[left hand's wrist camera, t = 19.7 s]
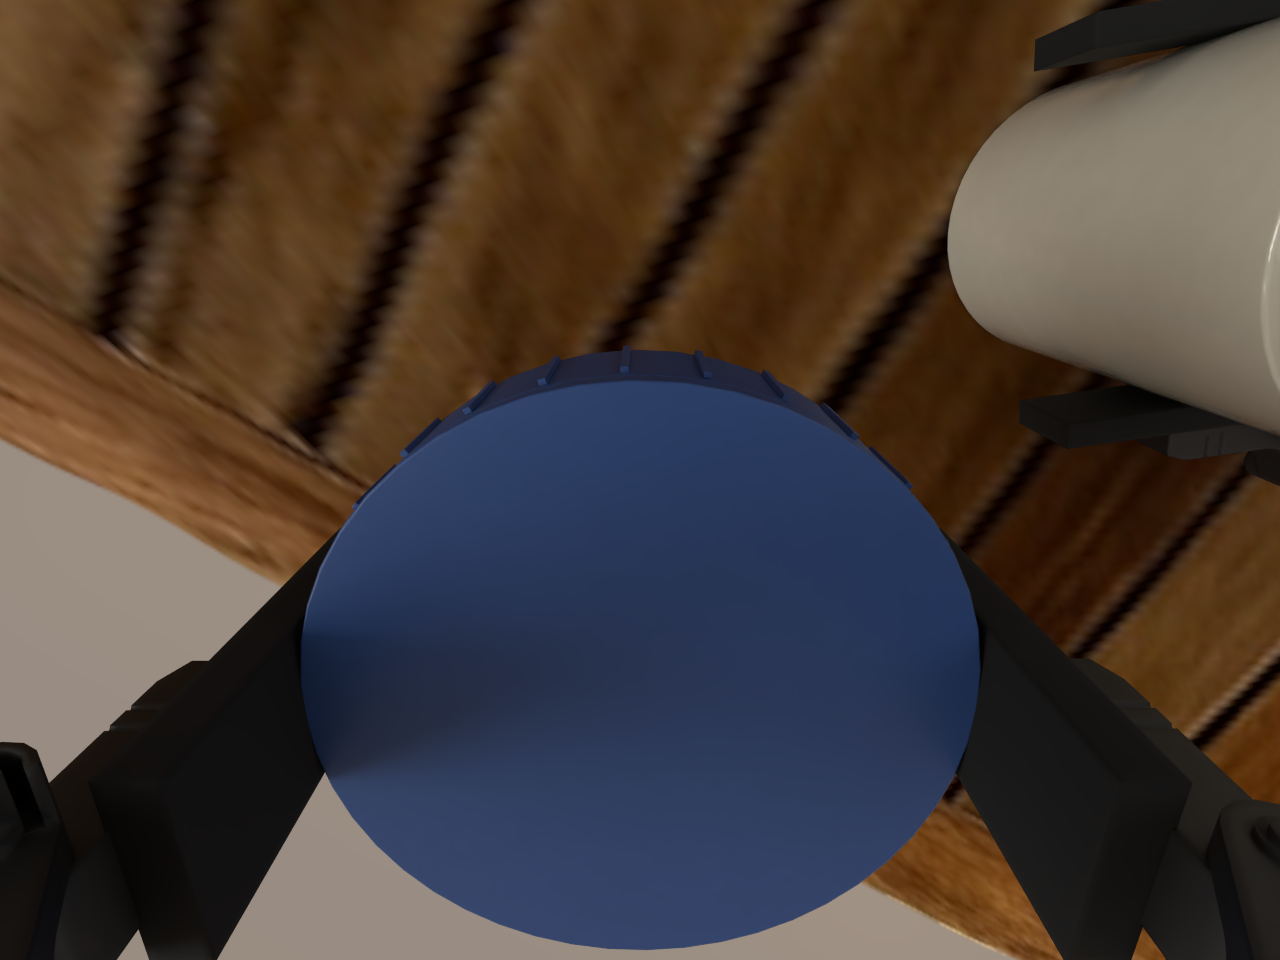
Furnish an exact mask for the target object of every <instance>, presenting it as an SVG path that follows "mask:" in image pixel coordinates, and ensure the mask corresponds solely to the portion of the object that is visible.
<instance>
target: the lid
mask: <svg viewBox="0 0 1280 960" xmlns="http://www.w3.org/2000/svg"><path fill="white" fill-rule="evenodd" d="M858 437H859V435H858V434H857V433H856V432H855V431H854V430H853V429H852V428H851V427H850V426H849V425H848V424H847V423H846V422H845V421H843V420H842V419H841V418H840V417H839V416H838V415H837V414H836V413H835V412H834V411H833V410H832V409H831V408H830V407H829V406H828V405H826V404H825V403H823V404H822V405H821V406H818V405H817V404H815V403H814V402H812V401H811V400H809V399H808V398H806V397H805V396H803V395H802V394H800V393H799V392H797V391H796V390H794V389H792V388H790V387H788V386H786V385H784V384H782V383H780V382H778V381H777V380H776V379H775V378H774V377H773V376H772V375H771V373H770V372H768V371H766V370H763V372H762V374H761V373H759V372H756V371H753V370H750V369H747V368H744V367H741V366H737V365H734V364H731V363H728V362H725V361H722V360H719V359H714V358H708V357H704V355H703V353H702V351H698V350H695V354H694V355H691V354H686V353H680V352H670V351H647V350H631V349H630V346H623V351H615V352H603V353H592V354H587V355H582V356H578V357H573V358H569V359H564V360H560V357H559V356H556V357H553V358H552V359H551V361H550V362H549V363H548V364H545V365H542V366H540V367H537V368H534V369H532V370H529V371H526V372H523V373H521V374H518V375H515V376H513V377H510V378H508V379H506V380H505V381H503V382H501V383H499V384H497V385H496V383H495V382H494V381H491V382H489V383H488V384H487V385H486V386H485V387H484V388H483V389H482V390H481V391H480V392H479V393H478V394H477V395H476V396H475V397H473V398H472V399H471V400H469V401H468V402H467V403H465V404H464V405H462V406H461V407H460V408H458V409H457V410H456V411H454V412H453V413H451V414H450V415H449V416H447V417H446V418H445V419H443V420H442V421H441V420H440V419H439V418H437V419H435V420H434V421H433V422H432V423H431V424H430V425H429V426H428V427H427V428H426V429H425V430H424V431H423V432H422V433H420V434H419V435H418V436H417V437H416V438H415V439H414V440H413V441H412V442H411V443H410V444H409V445H408V446H407V447H406V448H405V449H404V450H402V451H401V452H400V455H401V456H402V457H403V459H402V460H401V461H400V462H399V463H398V464H397V465H394V466H393V467H392V468H391V469H389V470H388V471H387V472H386V473H385V474H384V475H383V476H382V477H381V478H380V479H379V480H378V481H377V482H376V483H375V484H374V485H373V486H372V487H371V488H370V489H369V490H368V491H367V492H366V493H365V494H364V495H363V496H362V497H361V498H360V499H359V500H358V501H357V502H355V504H354V505H353V507H352V508H353V509H354V512H353V513H352V514H351V516H350V517H349V518H348V520H347V521H346V522H345V524H344V525H343V526H342V528H341V529H340V530H339V532H338V534H337V536H336V538H335V540H334V542H333V544H332V545H331V547H330V549H329V551H328V553H327V555H326V557H325V559H324V560H323V562H322V564H321V566H320V569H319V572H318V574H317V577H316V580H315V583H314V586H313V589H312V592H311V595H310V598H309V601H308V604H307V608H306V614H305V620H304V626H303V632H302V638H301V649H300V683H301V689H302V694H303V699H304V705H305V710H306V715H307V720H308V725H309V729H310V734H311V738H312V741H313V744H314V747H315V751H316V754H317V756H318V758H319V760H320V762H321V764H322V766H323V768H324V771H325V773H326V775H327V777H328V779H329V781H330V783H331V785H332V787H333V789H334V790H335V792H336V793H337V795H338V796H339V798H340V799H341V801H342V802H343V804H344V805H345V807H346V809H347V810H348V811H349V813H350V815H351V816H352V818H353V819H354V820H355V821H356V822H357V823H358V825H359V826H360V827H361V828H362V829H363V830H364V831H365V833H366V834H367V835H368V836H369V837H370V838H371V840H372V841H373V842H374V843H375V844H376V845H377V846H378V847H379V848H380V849H381V850H382V851H383V852H384V853H385V854H387V855H388V856H389V857H390V858H391V859H392V860H393V861H394V862H395V863H396V864H398V865H399V866H400V867H401V868H402V869H403V870H404V871H406V872H407V873H409V874H410V875H411V876H413V877H414V878H415V879H417V880H418V881H420V882H421V883H422V884H424V885H425V886H427V887H428V888H429V889H431V890H432V891H434V892H435V893H437V894H439V895H441V896H442V897H444V898H446V899H448V900H449V901H451V902H453V903H455V904H457V905H458V906H460V907H462V908H464V909H465V910H468V911H470V912H472V913H474V914H477V915H479V916H481V917H484V918H486V919H488V920H490V921H493V922H495V923H497V924H500V925H503V926H506V927H509V928H512V929H515V930H518V931H521V932H524V933H527V934H531V935H533V936H537V937H542V938H546V939H551V940H555V941H560V942H564V943H569V944H575V945H583V946H591V947H599V948H607V949H633V950H654V949H670V948H685V947H691V946H698V945H704V944H711V943H717V942H723V941H727V940H731V939H735V938H739V937H742V936H746V935H750V934H754V933H758V932H761V931H764V930H766V929H769V928H772V927H775V926H777V925H780V924H783V923H786V922H789V921H791V920H794V919H796V918H798V917H800V916H802V915H804V914H806V913H808V912H811V911H813V910H815V909H817V908H819V907H821V906H823V905H825V904H827V903H829V902H830V901H832V900H834V899H835V898H837V897H838V896H840V895H842V894H843V893H845V892H847V891H848V890H850V889H851V888H853V887H855V886H856V885H858V884H859V883H861V882H862V881H863V880H864V879H866V878H867V877H868V876H870V875H871V874H872V873H873V872H875V871H876V870H877V869H879V868H880V867H881V866H882V865H884V864H885V863H886V862H887V861H888V860H889V859H890V858H891V857H892V856H893V855H894V854H896V853H897V852H898V851H899V850H900V849H901V848H902V847H903V846H904V845H905V844H906V843H907V842H908V841H909V840H910V839H911V838H912V837H913V836H914V834H915V833H916V832H917V831H918V829H919V828H920V827H921V825H922V824H923V823H924V822H925V820H926V819H927V818H928V817H929V815H930V814H931V813H932V812H933V810H934V809H935V808H936V806H937V804H938V803H939V801H940V799H941V798H942V796H943V794H944V793H945V791H946V789H947V788H948V786H949V784H950V783H951V781H952V779H953V778H954V776H955V773H956V771H957V769H958V766H959V764H960V761H961V759H962V757H963V754H964V752H965V750H966V747H967V745H968V742H969V737H970V732H971V728H972V723H973V718H974V714H975V709H976V704H977V698H978V693H979V686H980V676H981V660H980V644H979V630H978V625H977V621H976V616H975V612H974V608H973V603H972V599H971V594H970V591H969V588H968V586H967V583H966V581H965V579H964V576H963V574H962V571H961V569H960V566H959V564H958V561H957V559H956V556H955V554H954V552H953V551H952V549H951V547H950V546H949V545H950V544H949V542H948V540H947V539H946V538H945V537H944V536H943V534H942V532H941V531H940V529H939V527H938V526H937V524H936V523H935V521H934V519H933V518H932V516H931V515H930V514H929V513H928V512H927V511H926V509H925V508H924V507H923V506H922V505H921V503H920V502H919V501H918V500H917V499H916V497H915V496H914V495H913V494H912V493H911V491H910V489H911V488H912V487H913V486H912V485H911V483H910V482H909V481H908V480H907V479H906V478H905V477H904V476H903V475H901V474H900V473H899V472H898V471H897V470H896V469H895V468H894V467H893V466H892V465H891V464H890V463H889V462H888V461H887V460H886V459H885V458H884V457H883V456H882V455H880V454H879V453H878V452H877V451H876V450H875V449H874V448H873V447H872V446H871V447H870V448H869V449H868V448H867V447H866V446H865V445H864V444H863V443H862V442H861V441H860V440H859V439H858Z"/></svg>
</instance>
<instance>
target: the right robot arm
mask: <svg viewBox="0 0 1280 960" xmlns="http://www.w3.org/2000/svg"><path fill="white" fill-rule="evenodd" d="M1278 17H1280V0H1163V1H1157V2H1151V3H1145V4H1139V5H1134V6H1128V7H1122V8H1116V9H1110V10H1105V11H1099V12H1096V13H1093V14H1091V15H1089V16H1087V17H1085V18H1082V19H1080V20H1078V21H1076V22H1074V23H1071V24H1069V25H1067V26H1065V27H1063V28H1060V29H1058V30H1056V31H1054V32H1052V33H1049V34H1047V35H1045V36H1043V37H1041V38H1038V39H1036V40H1035V61H1034V71H1040V70H1046V69H1052V68H1058V67H1064V66H1069V65H1075V64H1081V63H1087V62H1093V61H1099V60H1105V59H1111V58H1117V57H1123V56H1129V55H1135V54H1141V53H1147V52H1153V51H1158V50H1164V49H1170V48H1176V47H1182V46H1188V45H1193V44H1196V43H1199V42H1202V41H1206V40H1209V39H1212V38H1215V37H1218V36H1221V35H1224V34H1228V33H1231V32H1234V31H1237V30H1240V29H1243V28H1247V27H1250V26H1253V25H1256V24H1259V23H1262V22H1266V21H1269V20H1272V19H1275V18H1278ZM1019 423H1020V424H1022V425H1024V426H1026V427H1028V428H1030V429H1031V430H1033V431H1035V432H1037V433H1039V434H1041V435H1043V436H1044V437H1046V438H1048V439H1050V440H1052V441H1054V442H1055V443H1057V444H1059V445H1061V446H1063V447H1065V448H1066V449H1070V448H1077V447H1085V446H1092V445H1099V444H1106V443H1113V442H1121V441H1128V440H1135V439H1137V442H1138V443H1141V444H1143V445H1145V446H1147V447H1150V448H1152V449H1154V450H1156V451H1158V452H1161V453H1163V454H1165V455H1167V456H1170V457H1175V458H1179V459H1183V460H1189V459H1196V458H1203V457H1211V456H1218V455H1225V454H1233V453H1240V452H1247V451H1248V453H1247V455H1246V457H1245V460H1244V466H1245V469H1246V471H1248V472H1249V473H1250V474H1252V475H1254V476H1257V477H1259V478H1262V479H1264V480H1266V481H1269V482H1271V483H1273V484H1276V485H1278V486H1280V436H1277V435H1274V434H1271V433H1268V432H1265V431H1262V430H1259V429H1256V428H1253V427H1250V426H1248V425H1245V424H1242V423H1239V422H1236V421H1233V420H1230V419H1227V418H1224V417H1221V416H1218V415H1215V414H1213V413H1210V412H1207V411H1204V410H1201V409H1198V408H1195V407H1192V406H1189V405H1186V404H1183V403H1180V402H1178V401H1175V400H1172V399H1169V398H1166V397H1163V396H1160V395H1157V394H1154V393H1151V392H1148V391H1145V390H1143V389H1140V388H1137V387H1134V386H1131V385H1124V386H1117V387H1110V388H1103V389H1096V390H1089V391H1082V392H1075V393H1068V394H1061V395H1054V396H1047V397H1040V398H1034V399H1027V400H1020V417H1019Z"/></svg>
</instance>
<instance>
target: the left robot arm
mask: <svg viewBox="0 0 1280 960" xmlns="http://www.w3.org/2000/svg"><path fill="white" fill-rule="evenodd" d="M340 529H341V528H340ZM340 529H339V530H340ZM939 529H940V528H939ZM339 530H338V531H337V532H336V533H335V534H334V535H333V536H332V537H331V538H330V539H329V540H328V541H327V542H326V543H325V544H324V545H323V546H322V547H321V548H320V549H319V550H318V551H317V552H316V553H315V554H314V555H313V556H312V557H311V558H310V559H309V560H308V561H307V562H306V563H305V564H304V565H303V566H302V567H301V568H300V569H299V570H298V571H297V572H296V573H295V574H294V575H293V576H292V577H291V578H290V579H289V580H288V581H287V582H286V583H285V584H284V585H283V586H282V587H281V588H280V590H279V591H278V592H277V593H276V594H275V595H274V596H273V597H272V598H271V599H270V600H269V601H268V602H267V603H266V604H265V605H264V606H263V607H262V608H261V609H260V610H259V611H258V612H257V613H256V614H255V615H254V616H253V617H252V618H251V619H250V620H249V621H248V622H247V623H246V624H245V625H244V626H243V627H242V628H241V629H240V630H239V631H238V632H237V633H236V634H235V635H234V636H233V637H232V638H231V639H230V640H229V641H228V642H227V643H226V644H225V645H224V646H223V647H222V648H221V649H220V650H219V651H218V652H217V653H216V654H215V655H214V656H213V657H212V658H211V659H210V660H209V661H191V662H189V663H188V664H186V665H184V666H182V667H181V668H179V669H177V670H176V671H174V672H172V673H171V674H169V675H167V676H165V677H164V678H162V679H160V680H159V681H157V682H156V683H155V684H154V685H153V686H152V687H151V688H150V689H148V690H147V691H146V692H145V693H144V694H143V695H142V696H141V697H140V698H139V699H138V700H137V701H136V702H135V703H134V704H133V705H132V706H131V710H126V711H125V712H124V713H123V714H122V715H121V716H120V717H119V718H118V719H117V720H116V721H114V722H113V723H112V724H111V725H110V729H109V731H104V732H103V733H102V734H101V735H100V736H99V737H98V738H96V739H95V740H94V741H93V742H92V743H91V744H90V745H89V746H88V747H87V748H86V749H85V750H84V751H83V752H82V753H81V754H79V755H78V756H77V757H76V758H75V759H74V760H73V761H72V762H71V763H70V764H69V765H68V766H67V767H66V768H65V769H64V770H63V771H61V772H60V773H59V774H58V775H57V776H56V777H55V778H54V779H53V780H52V781H51V782H50V783H49V782H48V779H47V777H46V774H45V771H44V768H43V766H42V763H41V761H40V758H39V755H38V752H37V750H35V749H34V748H32V747H30V746H28V745H27V744H25V743H12V742H0V960H117V959H118V957H119V956H120V954H121V953H122V952H123V950H124V949H125V947H126V946H127V945H128V943H129V942H130V940H131V939H132V937H133V936H134V935H135V933H136V932H137V930H138V929H139V931H140V935H141V937H142V940H143V943H144V946H145V949H146V952H147V955H148V958H149V960H217V959H218V957H219V955H220V953H221V952H222V950H223V948H224V946H225V945H226V943H227V941H228V940H229V938H230V936H231V934H232V933H233V931H234V929H235V927H236V925H237V924H238V922H239V920H240V919H241V917H242V915H243V913H244V912H245V910H246V908H247V907H248V905H249V903H250V901H251V899H252V898H253V896H254V894H255V893H256V891H257V889H258V887H259V886H260V884H261V882H262V880H263V879H264V877H265V875H266V874H267V872H268V870H269V868H270V867H271V865H272V863H273V861H274V860H275V858H276V856H277V855H278V853H279V851H280V849H281V848H282V846H283V844H284V842H285V841H286V839H287V837H288V835H289V834H290V832H291V830H292V828H293V827H294V825H295V823H296V822H297V820H298V818H299V816H300V815H301V813H302V811H303V809H304V808H305V806H306V804H307V802H308V801H309V799H310V797H311V796H312V794H313V792H314V790H315V789H316V787H317V785H318V783H319V782H320V780H321V778H322V776H323V775H324V773H325V771H324V768H323V766H322V764H321V762H320V760H319V758H318V756H317V754H316V751H315V747H314V744H313V741H312V738H311V734H310V729H309V725H308V720H307V715H306V710H305V705H304V699H303V694H302V689H301V683H300V649H301V638H302V632H303V626H304V620H305V614H306V608H307V604H308V601H309V598H310V595H311V592H312V589H313V586H314V583H315V580H316V577H317V574H318V572H319V569H320V566H321V564H322V562H323V560H324V559H325V557H326V555H327V553H328V551H329V549H330V547H331V545H332V544H333V542H334V540H335V538H336V536H337V534H338V532H339ZM940 531H941V532H942V534H943V536H944V537H945V538H946V539H947V540H948V542H949V544H950V545H949V546H950V547H951V549H952V551H953V552H954V554H955V556H956V559H957V561H958V564H959V566H960V569H961V571H962V574H963V576H964V579H965V581H966V583H967V586H968V588H969V591H970V594H971V599H972V603H973V608H974V612H975V616H976V621H977V625H978V630H979V644H980V660H981V676H980V686H979V693H978V698H977V704H976V709H975V714H974V718H973V723H972V728H971V732H970V737H969V742H968V745H967V747H966V750H965V752H964V754H963V757H962V759H961V761H960V764H959V766H958V769H957V771H956V774H957V776H958V777H959V779H960V781H961V783H962V784H963V786H964V788H965V790H966V791H967V793H968V795H969V797H970V798H971V800H972V802H973V803H974V805H975V807H976V809H977V810H978V812H979V814H980V816H981V817H982V819H983V821H984V823H985V824H986V826H987V828H988V829H989V831H990V833H991V835H992V836H993V838H994V840H995V842H996V843H997V845H998V847H999V849H1000V850H1001V852H1002V854H1003V856H1004V857H1005V859H1006V861H1007V862H1008V864H1009V866H1010V868H1011V869H1012V871H1013V873H1014V875H1015V876H1016V878H1017V880H1018V882H1019V883H1020V885H1021V887H1022V888H1023V890H1024V892H1025V894H1026V895H1027V897H1028V899H1029V901H1030V902H1031V904H1032V906H1033V908H1034V909H1035V911H1036V913H1037V914H1038V916H1039V918H1040V920H1041V921H1042V923H1043V925H1044V927H1045V928H1046V930H1047V932H1048V934H1049V935H1050V937H1051V939H1052V940H1053V942H1054V944H1055V946H1056V947H1057V949H1058V951H1059V953H1060V954H1061V956H1062V958H1063V960H1131V959H1132V956H1133V954H1134V951H1135V948H1136V945H1137V942H1138V939H1139V936H1140V933H1141V931H1142V928H1143V927H1144V929H1145V930H1146V932H1147V933H1148V934H1149V936H1150V937H1151V939H1152V940H1153V941H1154V943H1155V944H1156V946H1157V947H1158V948H1159V950H1160V951H1161V953H1162V954H1163V955H1164V957H1165V958H1166V960H1280V805H1279V804H1274V803H1269V802H1264V801H1259V800H1253V799H1252V798H1251V797H1250V796H1248V795H1247V794H1246V793H1245V792H1244V791H1243V790H1242V789H1241V788H1240V787H1239V786H1238V785H1237V784H1236V783H1235V782H1233V781H1232V780H1231V779H1230V778H1229V777H1228V776H1227V775H1226V774H1225V773H1224V772H1223V771H1222V770H1221V769H1220V768H1219V767H1217V766H1216V765H1215V764H1214V763H1213V762H1212V761H1211V760H1210V759H1209V758H1208V757H1207V756H1206V755H1205V754H1204V753H1203V752H1201V751H1200V750H1199V749H1198V748H1197V747H1196V746H1195V745H1194V744H1193V743H1192V742H1191V741H1190V740H1189V739H1188V738H1187V737H1185V736H1184V735H1183V734H1182V733H1181V732H1180V731H1179V730H1178V729H1173V728H1172V726H1171V724H1172V723H1171V722H1169V721H1168V720H1167V719H1166V718H1165V717H1164V716H1163V715H1162V714H1161V713H1160V712H1159V711H1158V710H1157V709H1156V708H1151V707H1150V703H1149V702H1148V701H1147V700H1146V699H1145V698H1144V697H1143V696H1142V695H1141V694H1140V693H1138V692H1137V691H1136V690H1135V689H1134V688H1133V687H1132V686H1131V685H1130V684H1129V683H1128V682H1127V681H1126V680H1125V679H1123V678H1121V677H1120V676H1118V675H1116V674H1114V673H1113V672H1111V671H1109V670H1108V669H1106V668H1104V667H1102V666H1101V665H1099V664H1097V663H1096V662H1094V661H1092V660H1090V659H1069V658H1068V657H1067V656H1066V655H1065V654H1064V653H1063V652H1062V651H1061V650H1060V649H1059V648H1058V647H1057V646H1056V645H1055V644H1054V642H1053V641H1052V640H1051V639H1050V638H1049V637H1048V636H1047V635H1046V634H1045V633H1044V632H1043V631H1042V630H1041V629H1040V628H1039V627H1038V626H1037V625H1036V624H1035V623H1034V622H1033V621H1032V620H1031V619H1030V618H1029V617H1028V616H1027V615H1026V614H1025V613H1024V612H1023V611H1022V610H1021V609H1020V608H1019V607H1018V606H1017V605H1016V604H1015V603H1014V602H1013V601H1012V600H1011V599H1010V598H1009V597H1008V596H1007V595H1006V594H1005V593H1004V592H1003V591H1002V590H1001V589H1000V588H999V587H998V586H997V585H996V584H995V583H994V582H993V581H992V580H991V579H990V578H989V577H988V576H987V575H986V574H985V573H984V572H983V571H982V570H981V569H980V568H979V567H978V566H977V565H976V564H975V563H974V562H973V561H972V560H971V559H970V558H969V557H968V556H967V555H966V554H965V553H964V552H963V551H962V550H961V549H960V548H959V547H958V546H957V545H956V544H955V543H954V542H953V541H952V540H951V539H950V538H949V537H948V536H947V535H946V534H945V533H944V532H943V531H942V530H941V529H940Z"/></svg>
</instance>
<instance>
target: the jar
mask: <svg viewBox="0 0 1280 960" xmlns="http://www.w3.org/2000/svg"><path fill="white" fill-rule="evenodd" d="M948 257H949V266H950V271H951V275H952V278H953V282H954V285H955V287H956V290H957V292H958V295H959V297H960V299H961V301H962V302H963V304H964V306H965V307H966V309H967V310H968V312H969V313H970V314H971V315H972V316H973V318H974V319H975V320H976V321H977V322H978V323H979V324H980V325H981V326H982V327H983V328H985V329H986V330H987V331H988V332H989V333H991V334H993V335H994V336H996V337H997V338H999V339H1000V340H1003V341H1005V342H1007V343H1010V344H1012V345H1014V346H1017V347H1020V348H1023V349H1026V350H1029V351H1032V352H1035V353H1038V354H1040V355H1043V356H1046V357H1049V358H1052V359H1055V360H1058V361H1061V362H1064V363H1067V364H1070V365H1073V366H1075V367H1078V368H1081V369H1084V370H1087V371H1090V372H1093V373H1096V374H1099V375H1102V376H1105V377H1108V378H1110V379H1113V380H1116V381H1119V382H1122V383H1125V384H1128V385H1131V386H1134V387H1137V388H1140V389H1143V390H1145V391H1148V392H1151V393H1154V394H1157V395H1160V396H1163V397H1166V398H1169V399H1172V400H1175V401H1178V402H1180V403H1183V404H1186V405H1189V406H1192V407H1195V408H1198V409H1201V410H1204V411H1207V412H1210V413H1213V414H1215V415H1218V416H1221V417H1224V418H1227V419H1230V420H1233V421H1236V422H1239V423H1242V424H1245V425H1248V426H1250V427H1253V428H1256V429H1259V430H1262V431H1265V432H1268V433H1271V434H1274V435H1277V436H1280V17H1278V18H1275V19H1272V20H1269V21H1266V22H1262V23H1259V24H1256V25H1253V26H1250V27H1247V28H1243V29H1240V30H1237V31H1234V32H1231V33H1228V34H1224V35H1221V36H1218V37H1215V38H1212V39H1209V40H1206V41H1202V42H1199V43H1196V44H1193V45H1190V46H1187V47H1183V48H1180V49H1177V50H1174V51H1171V52H1168V53H1164V54H1161V55H1158V56H1155V57H1152V58H1149V59H1145V60H1142V61H1139V62H1136V63H1133V64H1130V65H1126V66H1123V67H1120V68H1117V69H1114V70H1111V71H1107V72H1104V73H1101V74H1098V75H1095V76H1092V77H1089V78H1085V79H1082V80H1079V81H1076V82H1073V83H1070V84H1066V85H1063V86H1060V87H1058V88H1056V89H1054V90H1051V91H1049V92H1047V93H1044V94H1042V95H1041V96H1039V97H1037V98H1036V99H1034V100H1032V101H1031V102H1029V103H1027V104H1026V105H1024V106H1023V107H1022V108H1020V109H1019V110H1018V111H1017V112H1015V113H1014V114H1013V115H1011V116H1010V117H1009V118H1008V119H1007V120H1006V121H1005V122H1004V123H1003V124H1002V125H1001V126H999V127H998V128H997V129H996V130H995V131H994V133H993V134H992V135H991V136H990V137H989V139H988V140H987V141H986V142H985V143H984V145H983V146H982V147H981V149H980V150H979V152H978V153H977V155H976V156H975V158H974V159H973V161H972V162H971V164H970V166H969V168H968V170H967V172H966V174H965V175H964V177H963V179H962V182H961V184H960V187H959V189H958V192H957V194H956V197H955V201H954V204H953V208H952V212H951V216H950V223H949V230H948Z"/></svg>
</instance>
